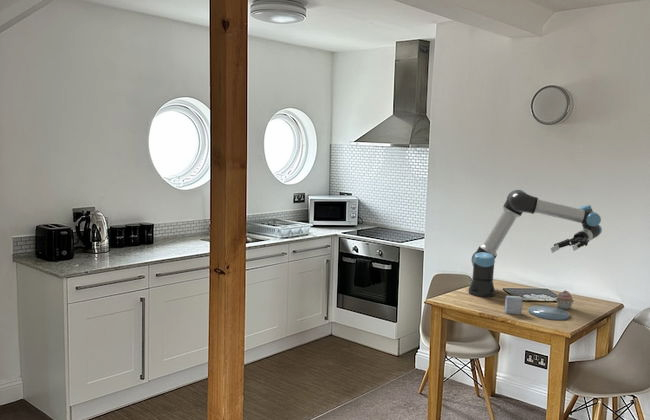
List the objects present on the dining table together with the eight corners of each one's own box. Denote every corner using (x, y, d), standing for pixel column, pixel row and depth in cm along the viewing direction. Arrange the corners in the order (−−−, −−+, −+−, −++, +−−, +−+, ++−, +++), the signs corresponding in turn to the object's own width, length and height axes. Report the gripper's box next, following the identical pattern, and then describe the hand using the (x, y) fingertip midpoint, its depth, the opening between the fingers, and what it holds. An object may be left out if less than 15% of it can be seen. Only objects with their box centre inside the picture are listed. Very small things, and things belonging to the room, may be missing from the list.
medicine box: (519, 312, 318) (520, 296, 317) (521, 314, 314) (522, 298, 313) (504, 311, 319) (505, 295, 318) (506, 313, 315) (507, 297, 314)
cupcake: (551, 307, 331) (553, 289, 330) (560, 304, 336) (562, 287, 335) (566, 311, 323) (568, 293, 322) (576, 308, 329) (578, 291, 328)
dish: (534, 318, 308) (534, 315, 308) (524, 307, 328) (524, 304, 327) (574, 321, 306) (574, 317, 306) (562, 309, 326) (562, 306, 326)
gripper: (605, 241, 335) (585, 254, 323) (565, 245, 355) (545, 257, 343) (601, 228, 334) (580, 240, 322) (561, 233, 355) (541, 245, 343)
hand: (562, 249), depth 333 cm, fingers open, 13 cm apart
